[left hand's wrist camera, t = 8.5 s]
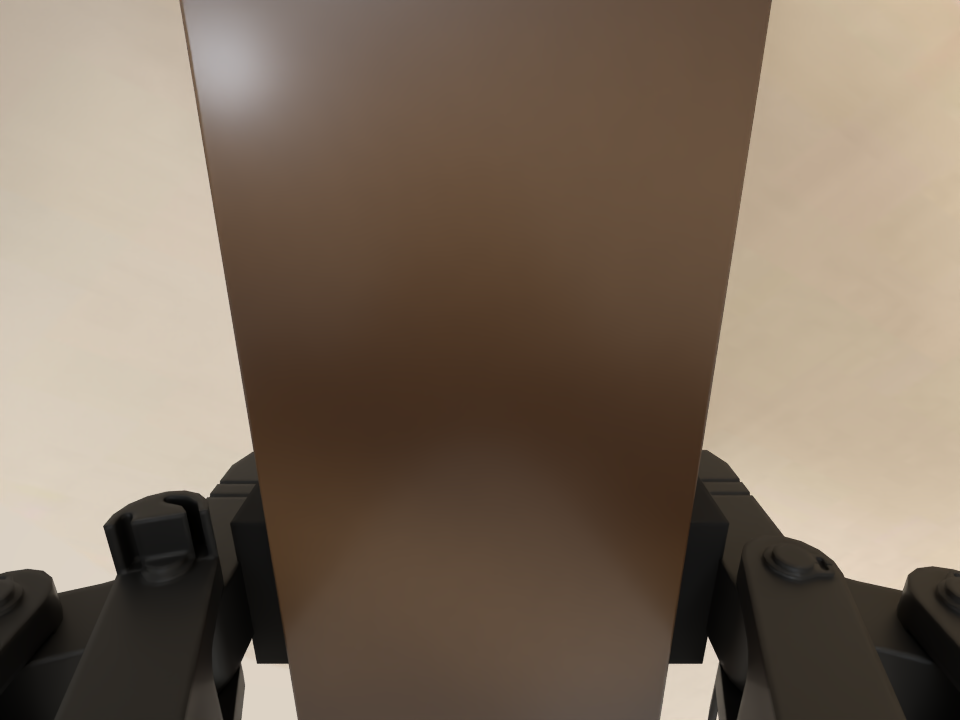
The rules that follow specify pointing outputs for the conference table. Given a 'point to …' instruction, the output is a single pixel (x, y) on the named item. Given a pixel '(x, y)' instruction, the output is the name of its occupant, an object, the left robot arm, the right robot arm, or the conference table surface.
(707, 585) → the left robot arm
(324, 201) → the bar
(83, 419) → the conference table surface
